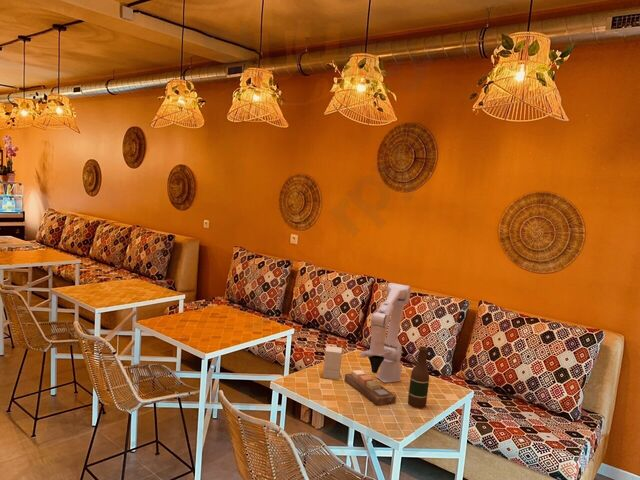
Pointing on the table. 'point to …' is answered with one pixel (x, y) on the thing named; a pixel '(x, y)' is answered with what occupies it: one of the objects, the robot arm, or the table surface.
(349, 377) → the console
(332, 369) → the supplement box
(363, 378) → the key terracotta
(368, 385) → the key sage
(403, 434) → the table surface
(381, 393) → the key slate
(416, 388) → the beer bottle
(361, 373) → the key ivory
